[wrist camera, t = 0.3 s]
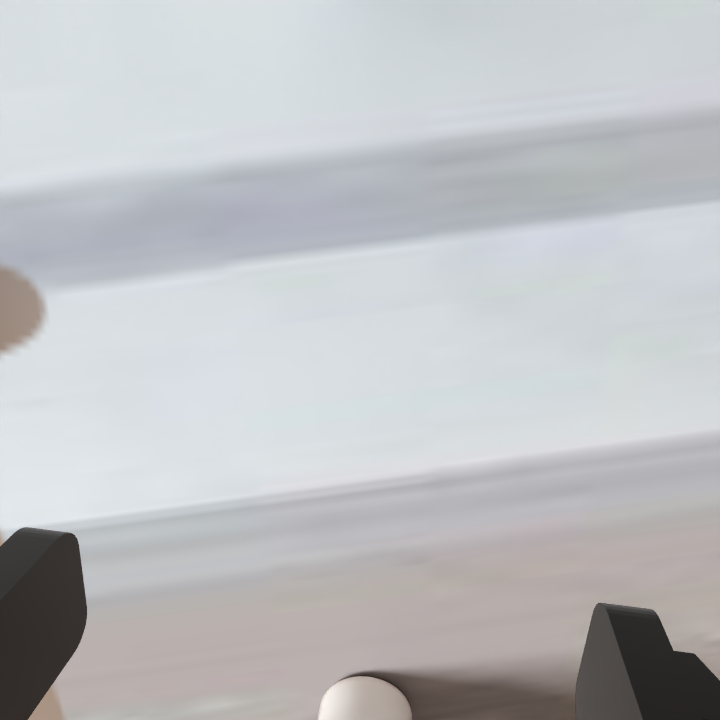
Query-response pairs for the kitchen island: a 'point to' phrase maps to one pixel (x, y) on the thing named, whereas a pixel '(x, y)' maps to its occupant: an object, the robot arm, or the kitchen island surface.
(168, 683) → the kitchen island surface
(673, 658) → the robot arm
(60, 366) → the kitchen island surface
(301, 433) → the kitchen island surface
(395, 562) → the kitchen island surface
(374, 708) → the drinking glass
